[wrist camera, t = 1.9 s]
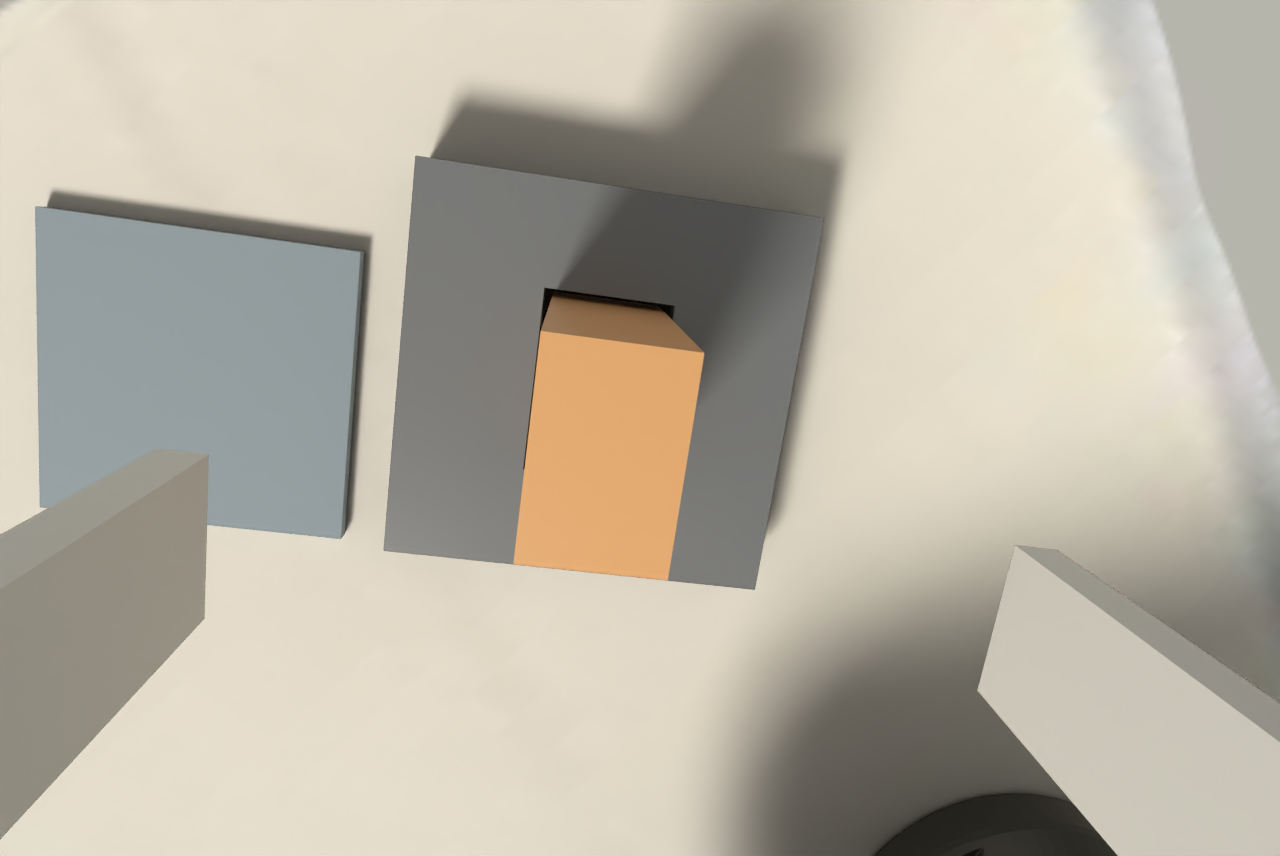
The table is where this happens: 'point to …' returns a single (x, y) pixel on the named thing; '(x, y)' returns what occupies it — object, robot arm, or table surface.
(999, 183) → the table surface
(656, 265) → the gray slotted square plate
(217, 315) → the rubber mat
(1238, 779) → the robot arm
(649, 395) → the plug
